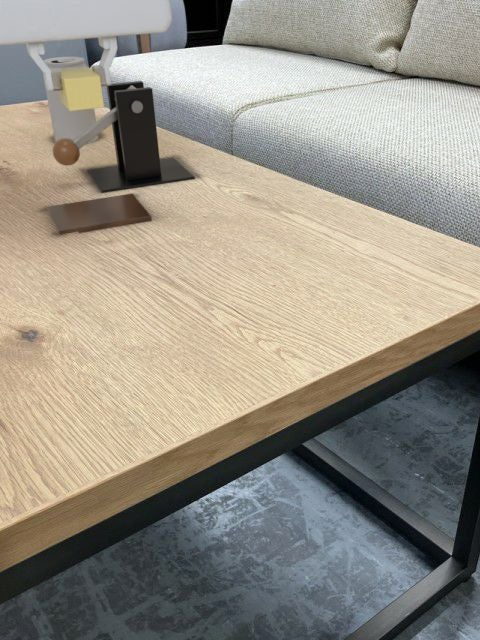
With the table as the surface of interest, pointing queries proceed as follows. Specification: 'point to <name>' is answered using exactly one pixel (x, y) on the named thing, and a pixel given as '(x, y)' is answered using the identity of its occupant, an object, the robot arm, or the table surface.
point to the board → (98, 214)
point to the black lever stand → (135, 144)
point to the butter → (81, 89)
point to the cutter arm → (82, 139)
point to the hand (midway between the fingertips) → (79, 87)
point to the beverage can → (61, 117)
